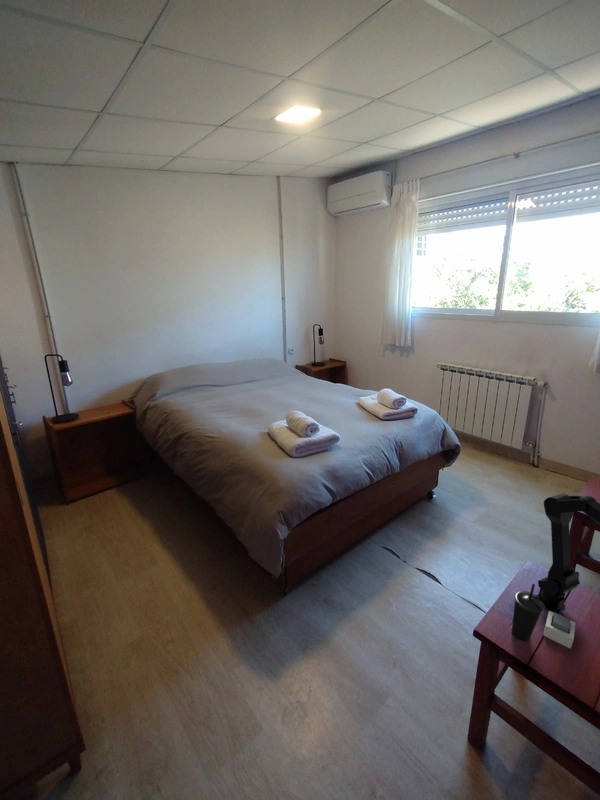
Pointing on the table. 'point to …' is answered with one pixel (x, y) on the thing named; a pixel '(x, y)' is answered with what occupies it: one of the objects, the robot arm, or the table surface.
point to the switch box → (559, 632)
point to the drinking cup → (526, 614)
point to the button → (561, 622)
